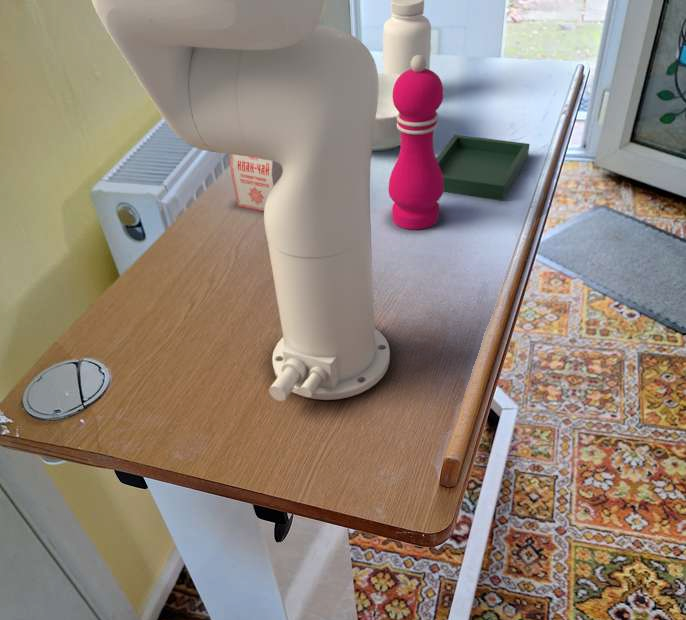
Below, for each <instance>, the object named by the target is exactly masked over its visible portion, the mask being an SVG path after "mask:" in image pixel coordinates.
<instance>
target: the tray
mask: <svg viewBox="0 0 686 620" xmlns="http://www.w3.org/2000/svg"><path fill="white" fill-rule="evenodd" d="M530 146H531V145H530V143H527V142H517V141H510V140H502V139H495V138H487V137H486V138H485V137H479V136H470V135H461V134H454V135H453V136H452V138H451V139H450V140H449V141H448V142H447V144H446V145H445V146H444V148H443V149H442V150H441V152H440V153H439V154H438V155H437V157H436V160H437V162H438V164H439V167H440V169H441V173H442V176H443V186H444V190H443V193H444V192H445V193H452V194H457V195H465V196H471V197H477V198H484V199H491V200H498V201H504V199H505V197H506V195H507V194H508V192H509V191H510V189H511V187H512V185H513V183H514V182H515V181H516V178H517V177H518V175H519V173H520V172H521V170H522V168H523V166H524V165H525V163H526V161H527V159H528V158H529V152H530Z"/></svg>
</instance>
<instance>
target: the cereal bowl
mask: <svg viewBox="0 0 686 620" xmlns="http://www.w3.org/2000/svg"><path fill="white" fill-rule="evenodd" d="M399 76H400V75H397V74H383V73H378V90H379V92H378V105H377V112H376V120H375V127H374V135H373V143H372V152H384V151H389V150H392V149H395V148H397V147H399V146H401V133H400V130H398V128H397V122H398V121H397V115H398V113H399V111H398V110H397V109H396V108H395V106H394V103H393V97H392V96H393V88H394V84H395V82H396V80H397V79H398V77H399Z"/></svg>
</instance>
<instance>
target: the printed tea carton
mask: <svg viewBox="0 0 686 620" xmlns="http://www.w3.org/2000/svg"><path fill="white" fill-rule="evenodd" d="M229 157H230V159H229V169H230V173H231V178H232V184H233V189H234V193H235V199H236V204H237V207H240V208H246V209H249V210H255V211H259V212H264V208H265V203H266V200H267V197H268V195H269V193H270V191H271V190H272V188H273V187H274V185H275V184H276V183H277V181H278V180H279V179H280V177H281V176H282V173H283V169H282V166H281V165H280V164H279V163H277V162H275V161H270V160H264V159H260V158H257V157H249V156H241V155H233V154H230V155H229Z"/></svg>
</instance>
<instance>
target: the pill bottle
mask: <svg viewBox="0 0 686 620" xmlns="http://www.w3.org/2000/svg"><path fill="white" fill-rule="evenodd" d="M424 10H425V0H391V1H390V15H391V16H390V17H389V18H387V20H386V21H385V22H384V24H383V28H382V74H397V75H401V74H403V73H404V72H405V71H407V70H410V69H412V68H411V60H412V58H413V57H414V56H416V55H422V56H423V57H424V58H425V60H426V67H425V69H429V70H430V67H431V65H430V64H431V39H432V26H431V25H432V24H431V22H430V20H429V19H428V18H427V17H426V16H424V13H425V11H424Z"/></svg>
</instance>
